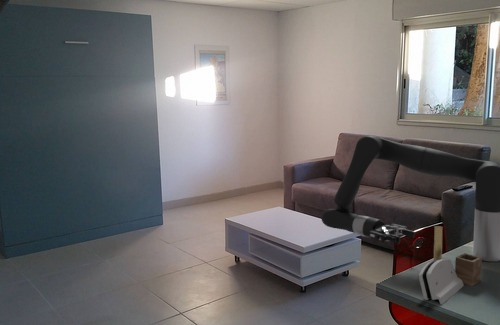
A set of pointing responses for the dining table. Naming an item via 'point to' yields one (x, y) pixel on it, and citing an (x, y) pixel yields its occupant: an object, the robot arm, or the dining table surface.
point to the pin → (438, 242)
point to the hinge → (439, 280)
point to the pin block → (468, 268)
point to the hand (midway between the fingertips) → (407, 237)
